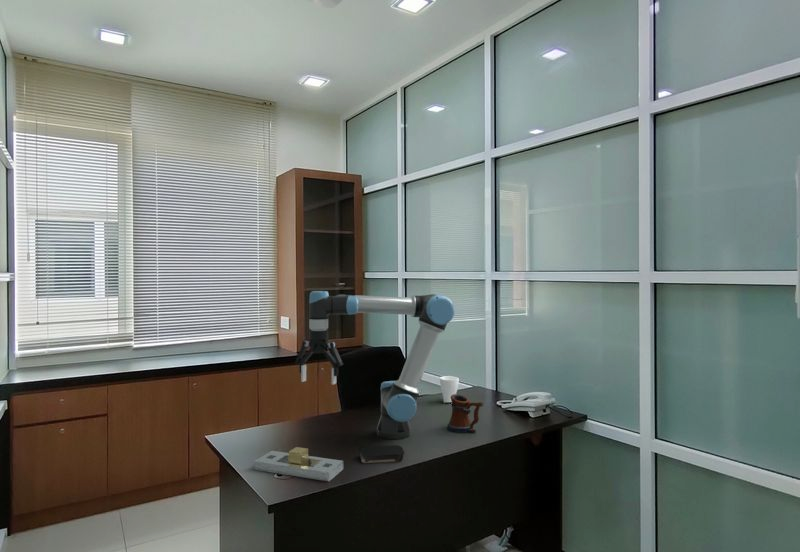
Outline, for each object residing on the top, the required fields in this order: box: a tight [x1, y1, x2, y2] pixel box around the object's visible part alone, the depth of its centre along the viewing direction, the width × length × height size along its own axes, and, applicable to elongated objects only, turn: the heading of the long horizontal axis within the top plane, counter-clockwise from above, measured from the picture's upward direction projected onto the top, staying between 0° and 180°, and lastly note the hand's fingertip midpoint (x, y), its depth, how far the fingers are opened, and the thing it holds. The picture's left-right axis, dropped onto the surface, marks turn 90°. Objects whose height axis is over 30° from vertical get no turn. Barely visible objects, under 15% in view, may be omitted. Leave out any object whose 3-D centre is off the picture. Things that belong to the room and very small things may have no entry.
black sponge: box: [359, 444, 405, 464], centre depth 182 cm, size 16×8×4 cm, turn 97°
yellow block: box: [288, 446, 309, 466], centre depth 172 cm, size 5×5×7 cm
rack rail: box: [253, 450, 344, 482], centre depth 172 cm, size 30×11×3 cm, turn 71°
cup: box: [439, 375, 460, 403], centre depth 263 cm, size 10×10×14 cm
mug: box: [447, 393, 484, 434], centre depth 216 cm, size 18×12×15 cm, turn 45°
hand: (318, 382), depth 192 cm, fingers open, 13 cm apart
